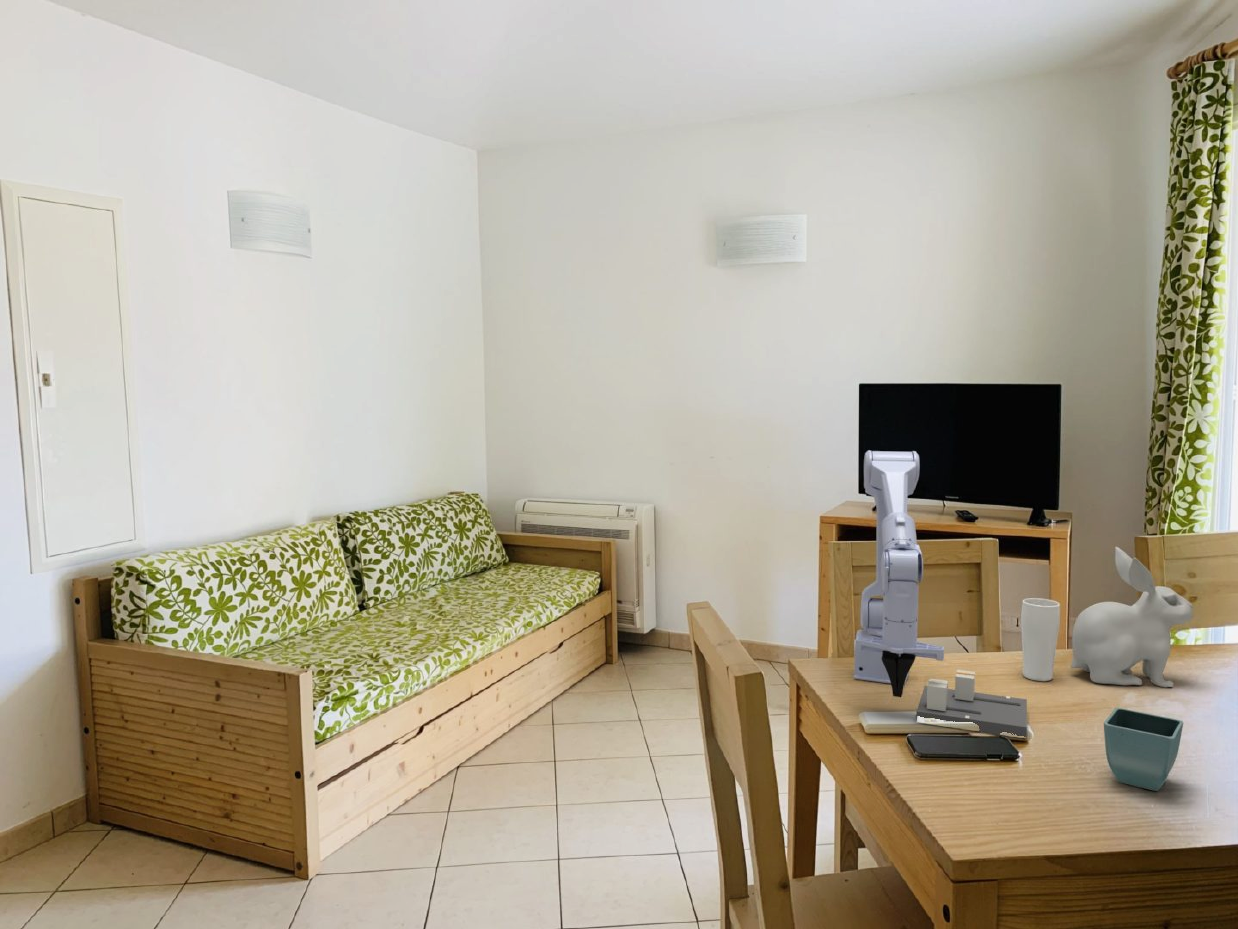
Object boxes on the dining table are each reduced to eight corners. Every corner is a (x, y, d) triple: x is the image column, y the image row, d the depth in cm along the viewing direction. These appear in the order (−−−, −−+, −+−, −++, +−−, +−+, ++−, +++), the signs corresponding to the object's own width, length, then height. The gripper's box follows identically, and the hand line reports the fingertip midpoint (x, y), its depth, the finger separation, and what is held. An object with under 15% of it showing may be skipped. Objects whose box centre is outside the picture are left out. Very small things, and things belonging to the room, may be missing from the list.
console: (915, 723, 153) (916, 710, 152) (924, 696, 165) (924, 685, 165) (1026, 739, 146) (1026, 726, 145) (1026, 710, 158) (1026, 698, 158)
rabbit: (1199, 694, 167) (1208, 561, 164) (1077, 685, 171) (1084, 555, 169) (1176, 674, 178) (1184, 549, 175) (1063, 666, 183) (1069, 544, 180)
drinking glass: (1049, 672, 179) (1052, 598, 177) (1062, 684, 172) (1066, 607, 171) (1013, 671, 179) (1016, 597, 178) (1025, 683, 173) (1029, 606, 171)
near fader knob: (926, 708, 153) (927, 684, 153) (928, 701, 157) (929, 677, 156) (945, 711, 152) (946, 687, 151) (947, 703, 155) (948, 680, 155)
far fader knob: (954, 698, 158) (955, 675, 157) (956, 691, 161) (957, 669, 161) (973, 701, 157) (974, 678, 156) (974, 694, 160) (975, 671, 160)
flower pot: (1112, 763, 137) (1115, 706, 136) (1180, 780, 131) (1184, 720, 130) (1099, 783, 130) (1102, 723, 129) (1170, 802, 124) (1174, 738, 123)
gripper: (853, 619, 155) (851, 696, 156) (942, 628, 149) (939, 708, 150) (860, 609, 161) (858, 683, 163) (946, 618, 155) (943, 695, 157)
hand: (897, 695), depth 157 cm, fingers closed
